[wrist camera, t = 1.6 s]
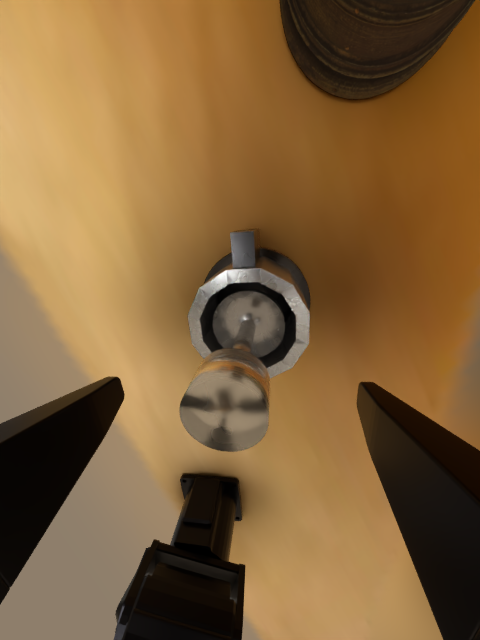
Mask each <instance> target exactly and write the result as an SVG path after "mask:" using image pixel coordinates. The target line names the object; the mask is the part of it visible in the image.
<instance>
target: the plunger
mask: <svg viewBox="0 0 480 640" xmlns="http://www.w3.org/2000/svg"><path fill="white" fill-rule="evenodd" d="M213 330H214V334H215V336H216V338H217V340H218V342H219V343H220V344H221V346H222V347H223V349H219V350H216V351H214V352H212V353H210V354H209V355H208V356H207V357H205V359H204V360H203V361H202V363H201V365H200V366H199V368H198V370H197V372H196V374H195V376H194V378H193V380H192V381H191V383H190V385H189V387H188V389H187V391H186V393H185V395H184V396H183V398H182V401H181V404H180V418H181V421H182V423H183V425H184V427H185V429H186V430H187V431H188V433H189V434H190V435H191V436H192V437H193V438H194V439H196V440H197V441H198V442H200V443H201V444H203V445H205V446H207V447H210V448H212V449H216V450H220V451H227V452H234V451H241V450H245V449H248V448H250V447H253V446H254V445H256V444H257V443H258V442H260V441H261V439H262V438H263V437H264V435H265V434H266V431H267V428H268V418H269V394H270V376H269V373H268V370H267V368H266V367H265V365H264V364H263V362H262V361H261V360H260V359H259V358H258V357H262V356H265V355H267V354H269V353H270V352H272V351H273V350H274V349H275V348H276V347H277V346H278V345H279V344H280V342H281V340H282V338H283V335H284V331H285V322H284V315H283V312H282V309H281V307H280V306H279V304H278V303H277V302H276V301H275V300H274V298H272V297H271V296H270V295H268V294H266V293H264V292H262V291H259V290H255V289H242V290H237V291H235V292H233V293H231V294H229V295H228V296H226V297H225V298H224V299H223V300H222V301H221V303H220V304H219V306H218V307H217V309H216V311H215V313H214V317H213Z"/></svg>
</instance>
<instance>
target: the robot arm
mask: <svg viewBox="0 0 480 640" xmlns="http://www.w3.org/2000/svg"><path fill="white" fill-rule="evenodd" d="M123 400H124V391H123V387H122V384H121V381H120V379H119V378H118V377H106V378H104V379H101V380H99V381H97V382H95V383H92V384H90V385H88V386H85V387H83V388H81V389H79V390H76V391H74V392H72V393H69V394H67V395H65V396H63V397H60V398H58V399H56V400H53V401H51V402H49V403H47V404H44V405H42V406H40V407H37V408H35V409H33V410H31V411H28V412H26V413H24V414H22V415H19V416H17V417H15V418H12V419H10V420H8V421H6V422H3V423H1V424H0V604H1V602H2V601H3V599H4V598H5V596H6V595H7V593H8V591H9V589H10V587H11V586H12V584H13V583H14V581H15V579H16V578H17V577H18V575H19V573H20V572H21V570H22V568H23V567H24V565H25V564H26V562H27V560H28V559H29V557H30V556H31V554H32V553H33V551H34V549H35V548H36V546H37V545H38V543H39V541H40V540H41V538H42V537H43V535H44V533H45V532H46V530H47V529H48V527H49V525H50V524H51V522H52V520H53V519H54V517H55V516H56V514H57V512H58V511H59V509H60V507H61V506H62V504H63V503H64V501H65V500H66V498H67V496H68V495H69V493H70V492H71V490H72V488H73V487H74V485H75V484H76V482H77V481H78V479H79V477H80V476H81V474H82V472H83V471H84V469H85V468H86V466H87V465H88V463H89V461H90V459H91V458H92V457H93V455H94V453H95V452H96V450H97V449H98V447H99V445H100V444H101V442H102V440H103V439H104V437H105V435H106V433H107V432H108V430H109V428H110V426H111V424H112V422H113V420H114V418H115V416H116V414H117V412H118V410H119V408H120V406H121V404H122V402H123ZM357 409H358V413H359V417H360V420H361V424H362V428H363V431H364V435H365V439H366V442H367V446H368V449H369V452H370V455H371V458H372V461H373V463H374V466H375V468H376V471H377V473H378V476H379V478H380V481H381V483H382V486H383V488H384V491H385V493H386V496H387V498H388V501H389V503H390V506H391V509H392V511H393V514H394V516H395V519H396V521H397V524H398V526H399V529H400V531H401V534H402V536H403V539H404V541H405V544H406V546H407V549H408V551H409V554H410V556H411V559H412V561H413V564H414V566H415V569H416V572H417V574H418V577H419V579H420V582H421V584H422V587H423V589H424V592H425V594H426V597H427V599H428V602H429V604H430V607H431V610H432V612H433V615H434V617H435V620H436V622H437V625H438V627H439V629H440V632H441V635H442V637H443V640H480V451H479V450H478V449H476V448H475V447H473V446H472V445H470V444H468V443H467V442H465V441H464V440H462V439H461V438H459V437H458V436H456V435H454V434H453V433H451V432H450V431H448V430H447V429H445V428H444V427H442V426H440V425H439V424H437V423H436V422H434V421H433V420H431V419H430V418H428V417H426V416H425V415H423V414H422V413H420V412H419V411H417V410H416V409H414V408H412V407H411V406H409V405H408V404H406V403H405V402H403V401H402V400H400V399H398V398H397V397H395V396H394V395H392V394H391V393H389V392H388V391H386V390H384V389H383V388H381V387H380V386H378V385H377V384H375V383H373V382H360V383H359V387H358V395H357ZM180 482H181V486H182V491H183V495H184V499H185V501H184V504H183V507H182V510H181V513H180V516H179V519H178V522H177V525H176V529H175V532H174V535H173V538H172V541H171V544H170V545H168V544H164V543H161V542H160V541H159V540H154V541H153V543H152V545H151V547H149V548H146V550H145V553H144V555H143V558H142V560H141V562H140V565H139V567H138V569H137V572H136V574H135V576H134V577H133V579H132V581H131V583H130V585H129V587H128V588H127V590H126V592H125V594H124V596H123V598H122V599H121V601H120V603H119V605H118V607H117V610H116V619H117V627H116V632H115V637H114V640H241V639H242V627H243V606H244V583H245V565H243V564H239V565H238V564H235V563H231V562H229V555H230V548H231V541H232V534H233V527H234V521H241V520H242V507H241V498H240V488H239V481H238V480H237V479H232V478H221V477H209V476H197V475H186V474H184V475H182V476H181V479H180Z"/></svg>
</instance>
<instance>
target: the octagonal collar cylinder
mask: <svg viewBox="0 0 480 640" xmlns="http://www.w3.org/2000/svg"><path fill="white" fill-rule="evenodd" d="M230 237H231V249H232V253H230V254H228V255H227V256H225V257H224V258H222V259H221V260H220V261H219V262H217V263H216V265H215V266H214V267H213V268H212V269H211V271H210V272H209V274H208V276H207V278H206V279H205V282H204V284H203V285H202V286H201V287H200V288H199V290H198V292H197V294H196V297H195V299H194V301H193V304H192V306H191V308H190V311H189V313H188V322H189V328H190V335H191V341H192V345H193V346H194V347H195V348H196V350H197V351H198V352H199V354H200V355H201V356H202V357H203V359H205V357H207V356H208V355H209V354H210V353H212V352H214V351H216V350H219V349H223V347H222V346H221V344H220V343H219V342H218V340H217V338H216V336H215V334H214V330H213V317H214V313H215V311H216V309H217V307H218V306H219V304H220V303H221V301H222V300H223V299H224V298H225V297H226V296H228V295H229V294H231V293H233V292H235V291H237V290H242V289H255V290H259V291H262V292H264V293H266V294H268V295H270V296H271V297H272V298H274V300H275V301H276V302H277V303H278V304H279V306H280V307H281V309H282V312H283V315H284V322H285V331H284V335H283V338H282V340H281V342H280V344H279V345H278V346H277V347H276V348H275V349H274V350H273V351H272V352H270V353H269V354H267V355H265V356H262V357H258V358H259V359H260V360H261V361H262V362H263V364H264V365H265V367H266V368H267V370H268V373H269V376H270V378H272V377H274V376H276V375H278V374H280V373H282V372H285V371H287V370H289V369H291V368H292V367H293V366H294V364H295V363H296V362H297V360H298V359H299V357H300V356H301V354H302V353H303V352H304V350H305V349H306V347H307V346H308V344H309V325H310V312H309V310H310V293H309V288H308V285H307V282H306V280H305V278H304V276H303V274H302V272H301V271H300V269H299V268H298V267H297V266H296V264H295V263H294V262H293V261H292V260H290V259H289V258H288V257H286V256H285V255H283V254H282V253H280V252H277V251H275V250H272V249H268V248H263V247H260V239H259V229H249V230H239V231H235V232H231V233H230Z"/></svg>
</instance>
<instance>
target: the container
mask: <svg viewBox="0 0 480 640" xmlns="http://www.w3.org/2000/svg"><path fill="white" fill-rule="evenodd" d="M474 1H475V0H280V8H281V17H282V23H283V28H284V32H285V35H286V39H287V42H288V45H289V48H290V50H291V52H292V54H293V56H294V58H295V60H296V62H297V64H298V65H299V67H300V68H301V70H302V71H303V72H304V74H305V75H306V76H307V77H308V78H309V79H310V80H311V81H312V82H313V83H314V84H316V85H317V86H318V87H320V88H321V89H323V90H324V91H326V92H328V93H330V94H333V95H336V96H338V97H342V98H348V99H364V98H369V97H373V96H377V95H380V94H382V93H385V92H387V91H389V90H391V89H393V88H395V87H396V86H398V85H400V84H401V83H403V82H404V81H406V80H407V79H408V78H410V77H411V76H412V75H413V74H415V73H416V72H417V71H418V70H419V69H420V68H421V67H422V66H423V65H424V64H425V63H426V62H427V61H428V60H429V59H431V57H432V56H433V55H434V54H435V53H436V52H437V51H438V49H439V48H440V47H441V46H442V44H443V43H444V42H445V41H446V39H447V38H448V36H449V35H450V33H451V32H452V31H453V29H454V28H455V27H456V26H457V24H458V23H459V22H460V21H461V20H462V18H463V17H464V16H465V14H466V13H467V11H468V10H469V8H470V7H471V5H472V4H473V3H474Z"/></svg>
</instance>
